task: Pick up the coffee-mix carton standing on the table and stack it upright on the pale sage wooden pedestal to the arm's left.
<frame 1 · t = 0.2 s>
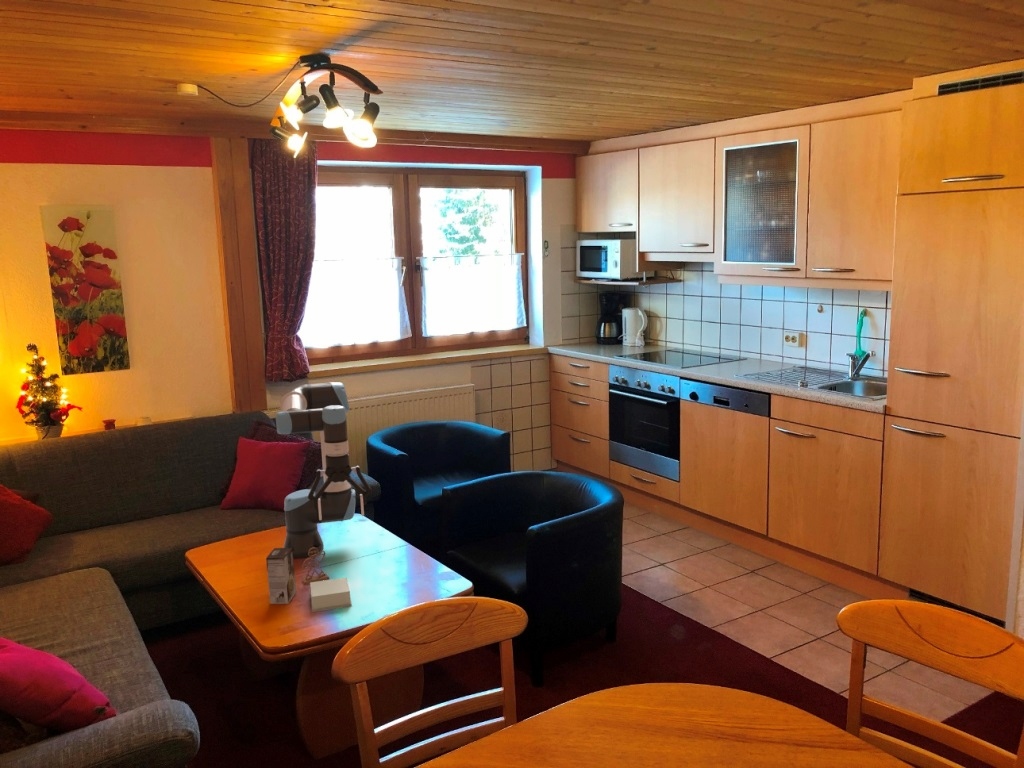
hand: (341, 516, 267), 28 cm above the table, fingers open, 13 cm apart
pedestal: (330, 601, 268), on the table
gingerbread man figurine: (315, 580, 286), on the table
coffee box: (283, 598, 272), on the table
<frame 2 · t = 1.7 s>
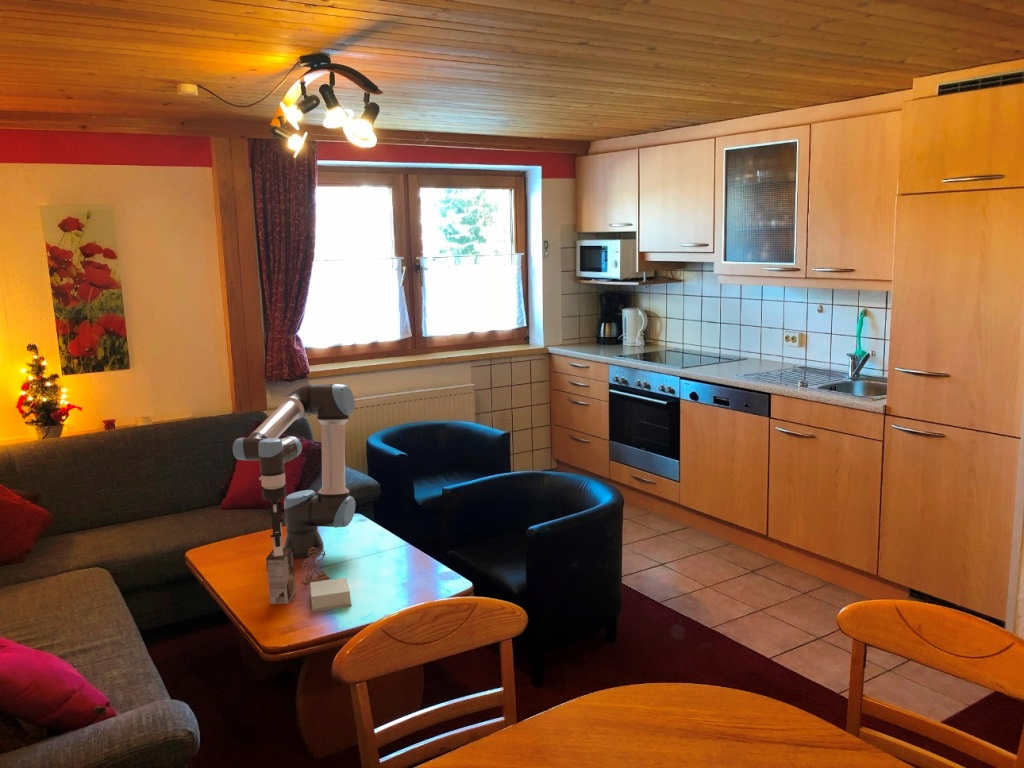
hand: (278, 548, 269), 17 cm above the table, fingers open, 13 cm apart
nothing on the table moved.
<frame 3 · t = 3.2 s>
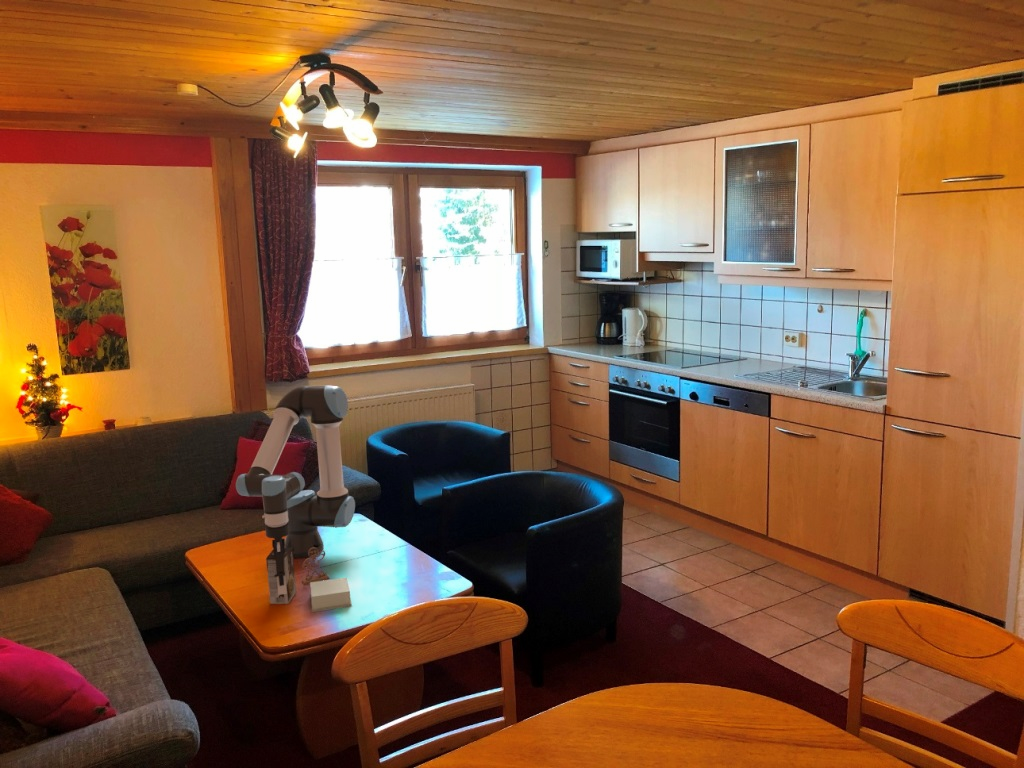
hand: (282, 587, 271), 4 cm above the table, fingers closed on coffee box, 10 cm apart
coffee box: (283, 598, 272), on the table, touching gripper
everything else where it was.
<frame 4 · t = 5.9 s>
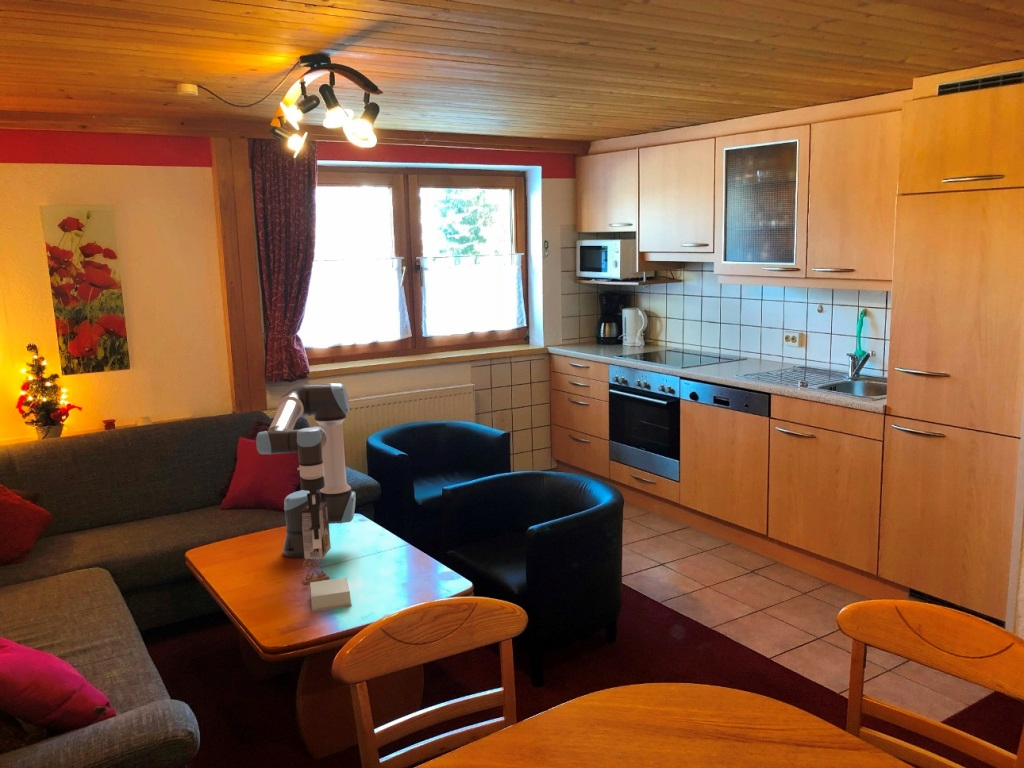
hand: (317, 542, 265), 20 cm above the table, fingers closed on coffee box, 10 cm apart
coffee box: (317, 554, 266), point 16 cm above the table, touching gripper
everything else where it was.
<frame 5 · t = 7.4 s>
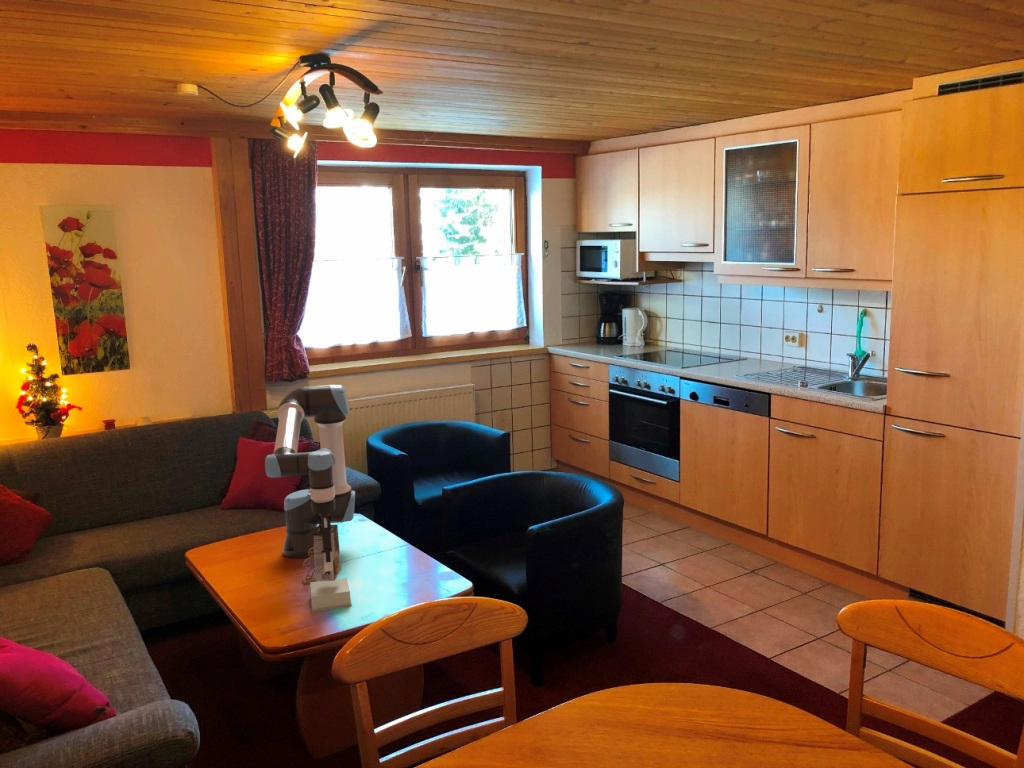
hand: (327, 564, 266), 13 cm above the table, fingers closed on coffee box, 10 cm apart
coffee box: (328, 576, 267), point 9 cm above the table, touching gripper
everything else where it was.
when the fingers open (10 cm above the table, at t = 8.4 s): coffee box drops 1 cm, resting on pedestal.
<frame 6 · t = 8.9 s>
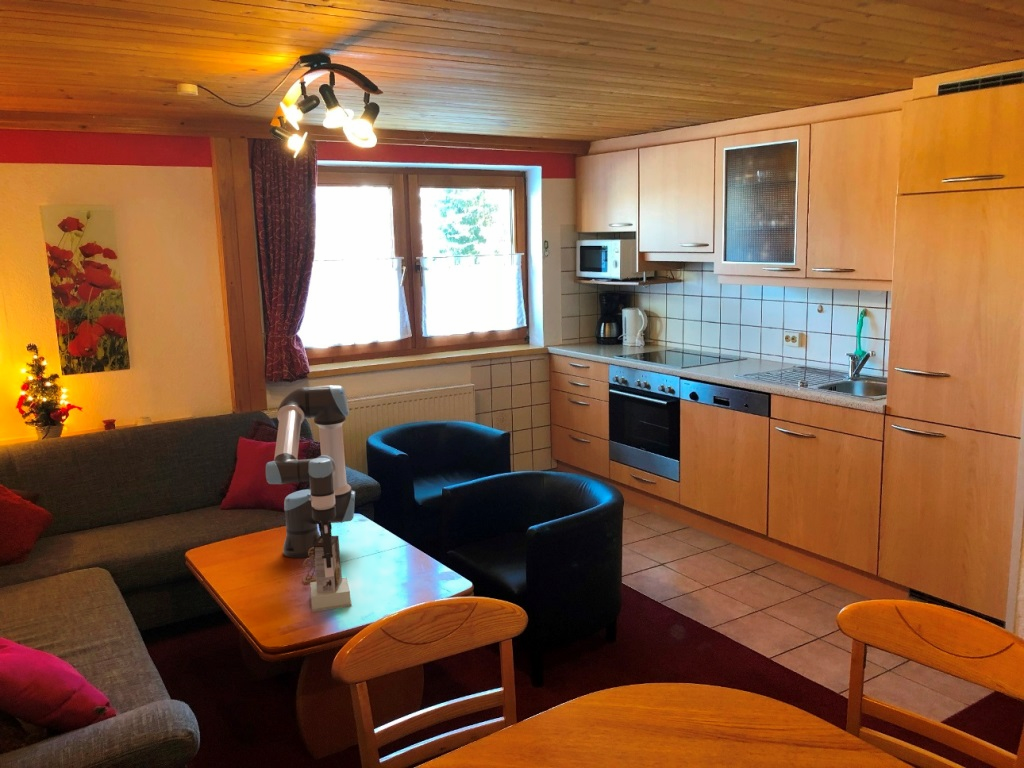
hand: (328, 568, 267), 11 cm above the table, fingers open, 13 cm apart
coffee box: (329, 587, 268), point 5 cm above the table, touching pedestal
everything else where it was.
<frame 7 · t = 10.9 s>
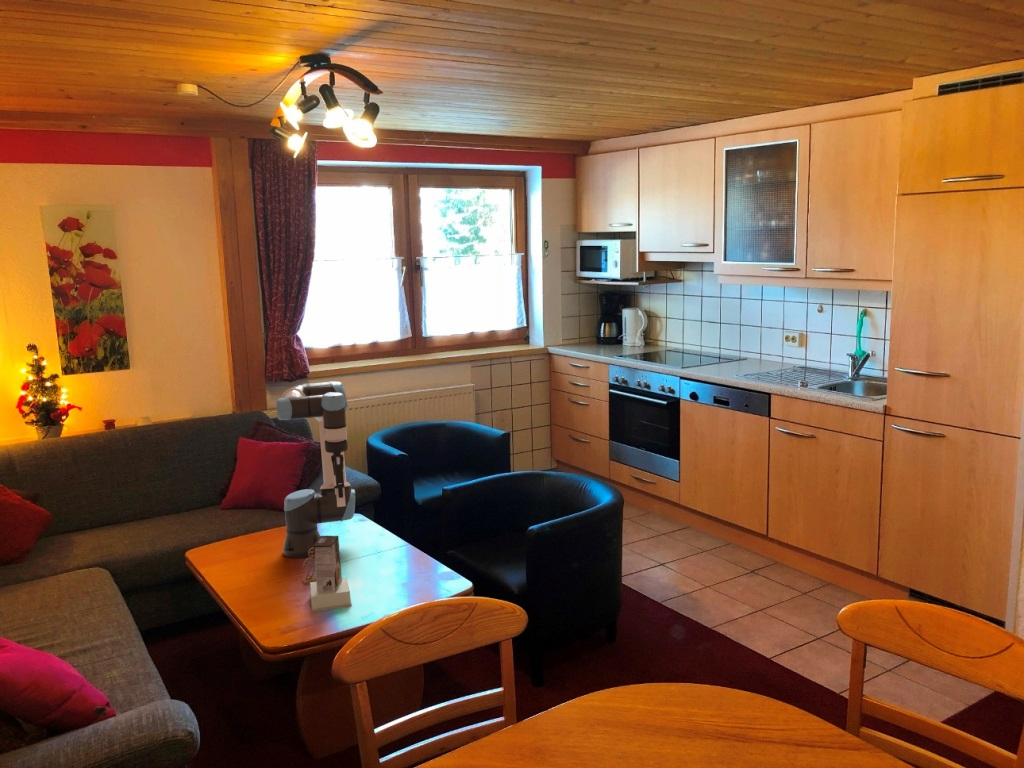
hand: (340, 500, 277), 30 cm above the table, fingers open, 13 cm apart
nothing on the table moved.
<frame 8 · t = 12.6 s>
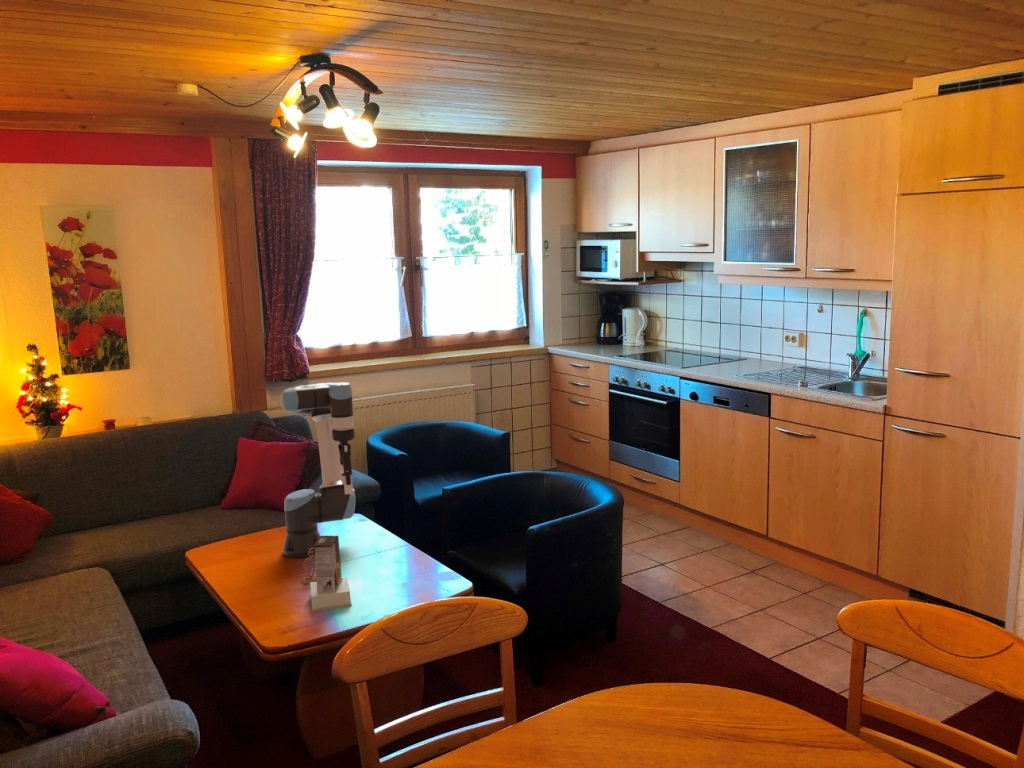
hand: (347, 488, 282), 33 cm above the table, fingers open, 13 cm apart
nothing on the table moved.
at the end: coffee box inside the target area on the pedestal (0.2 cm from its centre), point 4.8 cm above the pedestal's base; coffee box tilted 0°; the gripper is holding nothing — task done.
